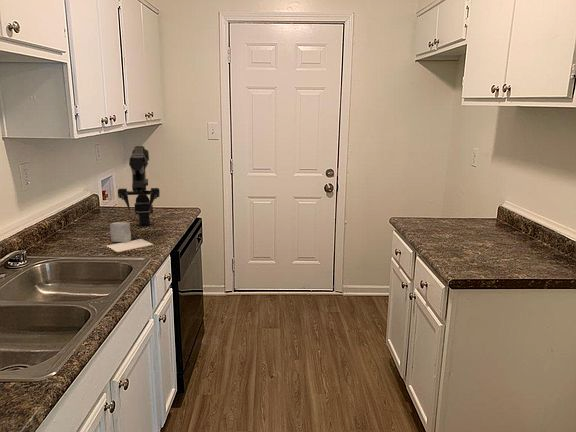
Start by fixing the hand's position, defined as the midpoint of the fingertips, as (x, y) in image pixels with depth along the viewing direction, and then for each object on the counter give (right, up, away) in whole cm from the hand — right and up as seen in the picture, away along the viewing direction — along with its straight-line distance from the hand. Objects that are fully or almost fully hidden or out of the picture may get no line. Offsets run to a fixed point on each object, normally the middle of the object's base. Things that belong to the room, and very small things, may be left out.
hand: (139, 209), depth 219 cm
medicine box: (-9, -15, +1) cm, 17 cm away
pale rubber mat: (-3, -16, -5) cm, 17 cm away
